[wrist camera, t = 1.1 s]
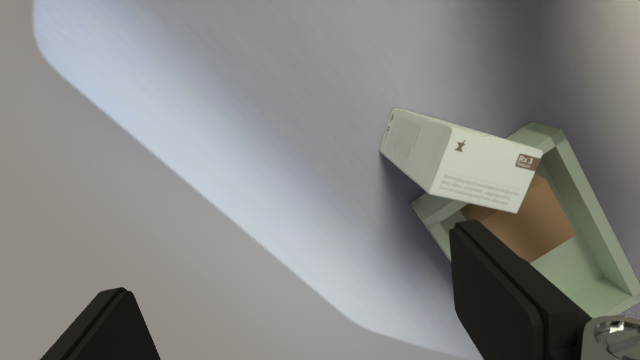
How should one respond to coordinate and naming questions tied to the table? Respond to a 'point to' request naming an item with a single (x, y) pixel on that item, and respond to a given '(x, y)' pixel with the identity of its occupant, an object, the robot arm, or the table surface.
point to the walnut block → (527, 222)
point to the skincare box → (460, 161)
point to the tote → (585, 218)
